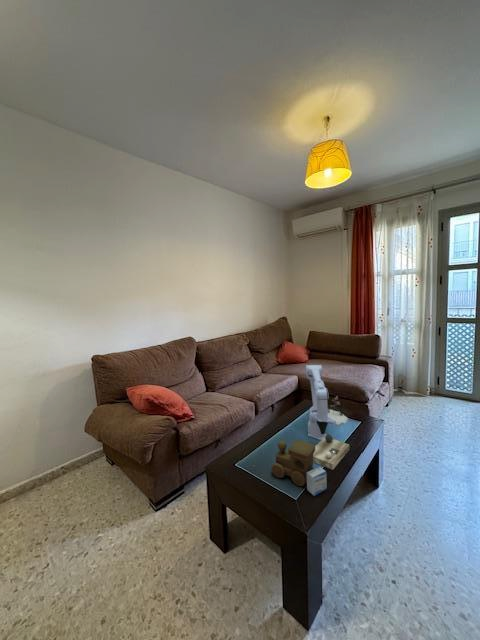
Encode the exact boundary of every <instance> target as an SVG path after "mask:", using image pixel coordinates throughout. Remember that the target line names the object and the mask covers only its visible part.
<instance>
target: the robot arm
mask: <svg viewBox="0 0 480 640" xmlns="http://www.w3.org/2000/svg"><path fill="white" fill-rule="evenodd" d="M305 375H306V376H305V377H306V379H308V380H309V382H310V389H311V391H310V392H311V399H312V406H311V407H309V410H308V411H309V414H308V415H309V420H308V422H307V433H308V434H307V436H308V437H311V438H312V439H313V438H314V439H317V440H320V441H321V440H322V439H323V438H324V437H325V436H326V435H328V434H327V433H326V429H327V426H328V424H330V425H332V426H336V425H337V424H336V421H335V420H333V419H331V418H329V417H328V407H329V406H328V400H329V391H328V388H327V387H325V386H326V385H325V383H324V380H323V379H322V375H323V366H322V364H309V365H308V364H306V365H305Z"/></svg>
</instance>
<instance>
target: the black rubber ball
mask: <svg viewBox="0 0 480 640" xmlns="http://www.w3.org/2000/svg"><path fill="white" fill-rule="evenodd" d="M325 439H326V441H327V442H331V441H332V440H333V439H334V438H333V436H332V435H331V434H327V435H326V436H325Z"/></svg>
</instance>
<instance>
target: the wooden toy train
mask: <svg viewBox="0 0 480 640" xmlns="http://www.w3.org/2000/svg"><path fill="white" fill-rule="evenodd" d="M315 446H316V445H315V444H313V443H311V442H308V441H304V440H302V439H301V440H300V439H296V440H294V441H293V442H292V443H291V444H290V446H289V447H288V444H287V443H286V442H285V441H284V440H279V442H277V448H278V449H279V450H278V451H277V453H276V454H275V461H274V463H273V464H272V465H271V466H270V468H271V472H272V473H273V475H274V476H275V477H276V478H279V479H283V478H284V477H285V476H288V477H290V479H291V480H292V482H293V483H294V484H295V485H296V486H298V487H303V486H304V485H306V484H307V472H309V471H311V470H313V469H315V468H314V467H313V465H314V462H313V454H314V452H315ZM287 447H288V450H286V449H287Z"/></svg>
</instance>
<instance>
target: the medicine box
mask: <svg viewBox="0 0 480 640" xmlns="http://www.w3.org/2000/svg"><path fill="white" fill-rule="evenodd" d="M327 486H328V485H327V471H326V470H325V469H323V468H322V467H321V466H318V467H315V468H314V469H313V470H311V471H309V472H307V483H306V490H307V491H308V492H309V494H311V495H312V496H313V497H315V496H317V495H319V494H321V493H322V492H324V491H326V490H327V488H328V487H327Z"/></svg>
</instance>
